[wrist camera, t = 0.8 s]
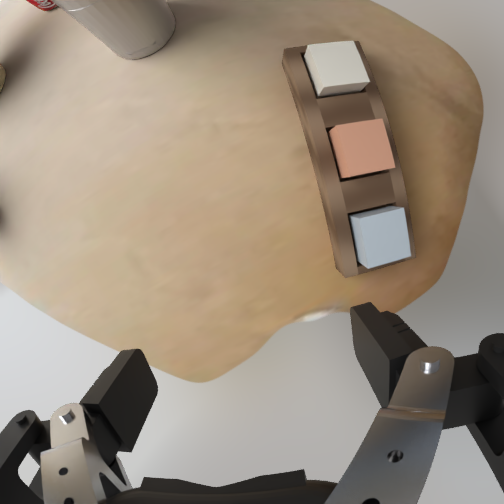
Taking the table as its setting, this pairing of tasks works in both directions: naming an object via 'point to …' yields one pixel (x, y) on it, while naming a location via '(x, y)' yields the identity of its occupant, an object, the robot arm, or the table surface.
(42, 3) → the soda can
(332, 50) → the cream button
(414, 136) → the table surface
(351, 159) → the pink square block
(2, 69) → the plant pot
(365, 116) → the button panel
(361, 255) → the bluegrey button
